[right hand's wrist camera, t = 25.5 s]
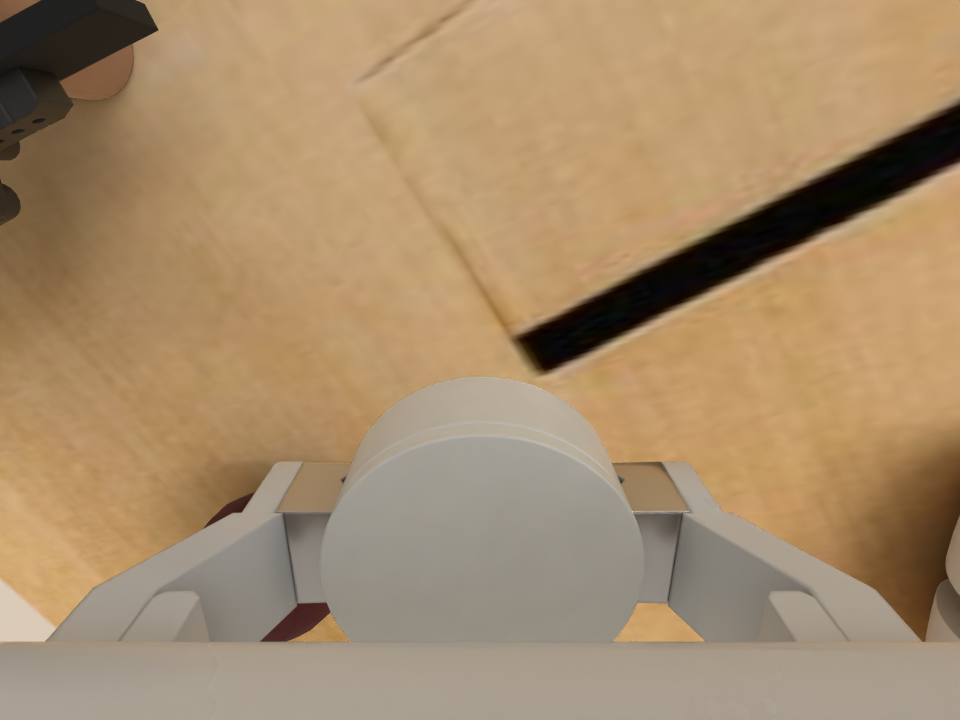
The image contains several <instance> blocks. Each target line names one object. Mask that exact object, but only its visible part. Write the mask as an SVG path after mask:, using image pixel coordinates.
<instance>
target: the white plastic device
mask: <svg viewBox="0 0 960 720" xmlns="http://www.w3.org/2000/svg"><path fill="white" fill-rule="evenodd" d="M946 572H947V575H948V577H949V578H948V579H946V580H944V581H942V582H941V583H940V584H939V585H938V587H937V590H936V593H935V597H934V601H933V605H932V609H931V613H930V618H929V622H928V627H927V633H926V640H925V642H960V516H959V518H958V521H957V524H956V527H955V529H954V532H953V535H952V539H951V542H950V545H949V548H948V552H947V555H946Z"/></svg>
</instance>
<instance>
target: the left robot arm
mask: <svg viewBox="0 0 960 720" xmlns="http://www.w3.org/2000/svg"><path fill="white" fill-rule="evenodd" d="M156 31H158V28H157V26H156V25H155V23H154V21H153V19H152V17H151V15H150V13H149V11H148V9H147V8H146V6H145V4H143V3H141V2H139V1H136V0H40V1H38V2H37V3H35V4H33V5H31V6H29V7H27V8H26V9H24V10H22V11H20V12H18V13H17V14H15V15H13V16H11V17H9V18H7V19H6V20H4V21H2V22H0V160H12V159H14V158H16V157H17V155H18V154H19V151H20V143H19V140H21V139H23V138H25V137H27V136H29V135H31V134H33V133H35V132H37V131H38V130H41V129H43V128H45V127H47V126H48V125H51V124H53V123H55V122H57V121H59V120H61V119H63V118H64V117H65V116H66V115H67V113H68V112H69V110H70V109H71V107H72V106H73V103H72V102H71V100H70V98H69V97H68V95H67V93H66V92H65V90H64V88H63V87H62V85H61V83H60V81H62V80H63V79H65V78H67V77H69V76H71V75H73V74H75V73H77V72H79V71H81V70H83V69H85V68H87V67H88V66H90V65H92V64H94V63H96V62H98V61H100V60H102V59H104V58H106V57H108V56H110V55H112V54H114V53H115V52H117V51H119V50H121V49H123V48H125V47H127V46H129V45H131V44H133V43H135V42H137V41H139V40H141V39H142V38H144V37H146V36H148V35H150V34H152V33H154V32H156ZM20 208H21V207H20V200H19V198H18V196H17V194H16V193H15V192H14V191H13V190H12V189H11V188H10V187H8V186H6V185H4V184H2V183H1V180H0V225H2V224H4V223H6V222H8V221H9V220H11V219H13V218H15V217H16V216H17V215H18V214H19V211H20Z"/></svg>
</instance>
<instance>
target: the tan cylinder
mask: <svg viewBox="0 0 960 720" xmlns="http://www.w3.org/2000/svg"><path fill="white" fill-rule="evenodd" d="M38 1H40V0H0V22H2V21H4V20H6V19H7V18H9V17H11V16H13V15H15V14H17V13H18V12H20V11H22V10H24V9H26V8H27V7H29V6H31V5H33V4H35V3H37V2H38ZM132 65H133V49H132V44H131V45H129V46H127V47H125V48H123V49H121V50H119V51H117V52H115V53H114V54H112V55H110V56H108V57H106V58H104V59H102V60H100V61H98V62H96V63H94V64H92V65H90V66H88V67H87V68H85V69H83V70H81V71H79V72H77V73H75V74H73V75H71V76H69V77H67V78H65V79H63V80H62V81H60V83H61V85H62V87H63V88H64V90H65V92H66V93H67V95H68V97H71V98H78V99H85V100H103V99H106V98H109V97H111V96H113V95H115V94H116V93H117V92H119V91H120V90H121V89H122V88H123V87H124V85H125V84H126V82H127V81H128V79H129V77H130V74H131V71H132Z"/></svg>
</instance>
